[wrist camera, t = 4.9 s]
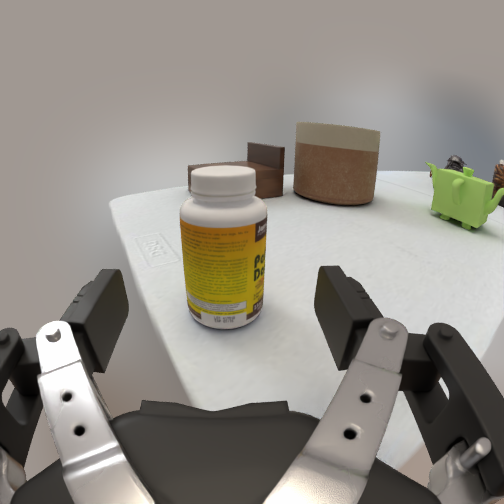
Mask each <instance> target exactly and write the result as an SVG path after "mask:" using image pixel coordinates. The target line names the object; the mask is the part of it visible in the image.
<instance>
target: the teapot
mask: <svg viewBox="0 0 504 504" xmlns="http://www.w3.org/2000/svg"><path fill="white" fill-rule="evenodd" d="M426 164H427V165H428V166H429V167H430V169H431V171H432V180H433V188H434V196H433V201H432V206H431V210H434V211H437V212H439V213H442V214H441V216H440V218H441V219H444V220H449V219H450V217H452V218H454V219H456V220H459V221H461V222H462V225H461V226H462V227H463V228H465V229H468V230H471V226H473V227H475V228H478V227H479V226H481V225H482V224H484V223H486V221H487V217H488V214H490V213H492V212H493V211H494V210H495V209H496V207H497V205H498V203H499V201H500V199H501V198H502V196H503V195H504V188H501V189H499V190H498V191H497V193H496V195H495V196H494V198H493V199H492V200H491V198H492V193H493V187H494V184H493V183H490V182H487V181H485V180H482V179H479V178H476V177H473V176H472V175H473V173H474V170H473V169H470V168H467V167H463V172H464V173H461V172H458V171H455V170H449V169H438V170H437V168H436V166H435V165H433V164H430V163H426Z"/></svg>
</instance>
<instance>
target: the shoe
mask: <svg viewBox="0 0 504 504" xmlns="http://www.w3.org/2000/svg"><path fill="white" fill-rule="evenodd" d="M463 164H464V162H463V161H462V159H461V158H460V157H458V156H456V155H453V156H451V158H449V159H448V165H447V166H446V167H445V168H444V169H449V170H455V171H458V172H461V173H464V172H463Z"/></svg>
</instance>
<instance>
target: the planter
mask: <svg viewBox="0 0 504 504" xmlns="http://www.w3.org/2000/svg"><path fill="white" fill-rule="evenodd" d="M379 143H380V131H375V130H370V129H363V128H357V127H349V126H342V125H333V124H323V123H311V122H297V125H296V147H295V168H294V184H293V189H294V191H296V192H297V193H298V194H300V195H302V196H304V197H306V198H309V199H311V200H315V201H319V202H324V203H329V204H337V205H360V204H364V203H368V202H370V201H372V200H373V197H374V190H375V182H376V173H377V164H378V154H379V153H378V152H379Z"/></svg>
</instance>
